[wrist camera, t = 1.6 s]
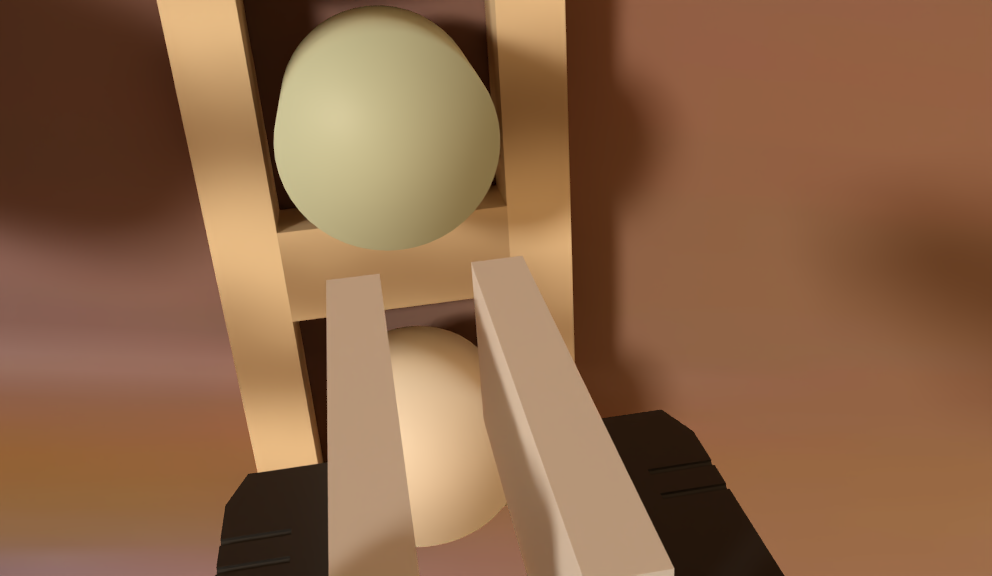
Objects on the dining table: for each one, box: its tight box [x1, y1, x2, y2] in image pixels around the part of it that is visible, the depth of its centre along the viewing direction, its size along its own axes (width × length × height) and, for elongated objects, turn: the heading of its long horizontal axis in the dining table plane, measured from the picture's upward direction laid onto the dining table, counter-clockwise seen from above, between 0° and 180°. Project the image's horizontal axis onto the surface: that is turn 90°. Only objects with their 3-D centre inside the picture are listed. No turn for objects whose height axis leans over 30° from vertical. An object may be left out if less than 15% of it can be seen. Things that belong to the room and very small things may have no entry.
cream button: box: [387, 326, 507, 547], centre depth 29 cm, size 6×6×4 cm
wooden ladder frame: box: [157, 0, 575, 506], centre depth 28 cm, size 30×11×2 cm, turn 3°
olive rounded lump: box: [274, 6, 500, 251], centre depth 25 cm, size 6×6×4 cm
